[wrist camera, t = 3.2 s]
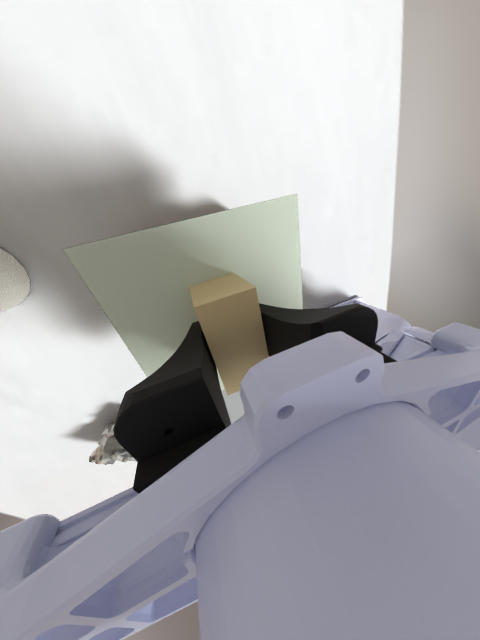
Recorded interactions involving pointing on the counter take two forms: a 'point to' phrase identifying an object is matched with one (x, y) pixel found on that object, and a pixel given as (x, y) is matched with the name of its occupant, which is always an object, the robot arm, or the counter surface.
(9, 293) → the paper towel roll
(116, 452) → the egg carton
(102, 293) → the lid
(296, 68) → the counter surface
